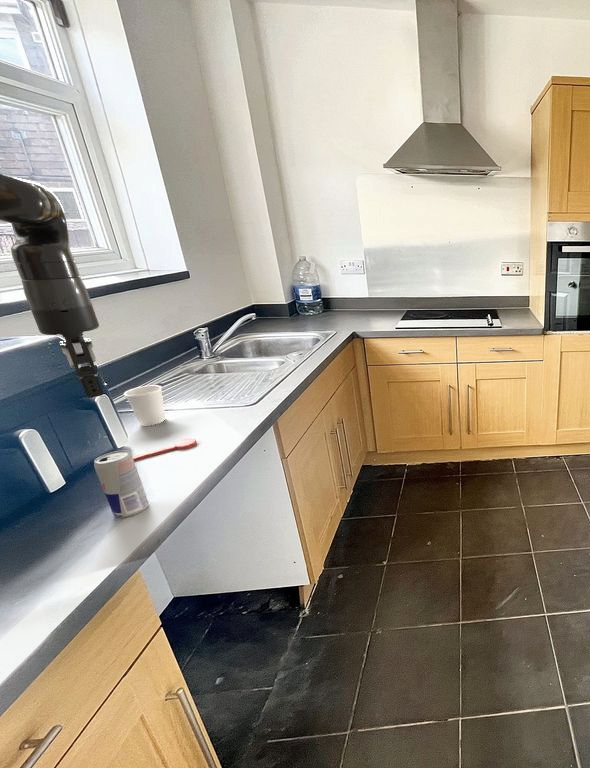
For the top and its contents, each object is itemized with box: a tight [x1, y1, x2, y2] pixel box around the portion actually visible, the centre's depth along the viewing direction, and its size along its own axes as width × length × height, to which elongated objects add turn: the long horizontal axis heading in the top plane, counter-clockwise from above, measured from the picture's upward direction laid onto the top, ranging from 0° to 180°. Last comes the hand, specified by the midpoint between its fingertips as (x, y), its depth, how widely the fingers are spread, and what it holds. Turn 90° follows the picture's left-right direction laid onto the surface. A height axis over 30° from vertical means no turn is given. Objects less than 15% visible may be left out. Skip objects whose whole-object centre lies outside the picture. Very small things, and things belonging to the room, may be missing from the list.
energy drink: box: [93, 449, 150, 519], centre depth 80 cm, size 5×5×12 cm
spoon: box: [132, 438, 198, 462], centre depth 103 cm, size 16×4×1 cm, turn 136°
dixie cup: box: [123, 384, 166, 427], centre depth 119 cm, size 8×8×10 cm
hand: (93, 390), depth 78 cm, fingers open, 8 cm apart
